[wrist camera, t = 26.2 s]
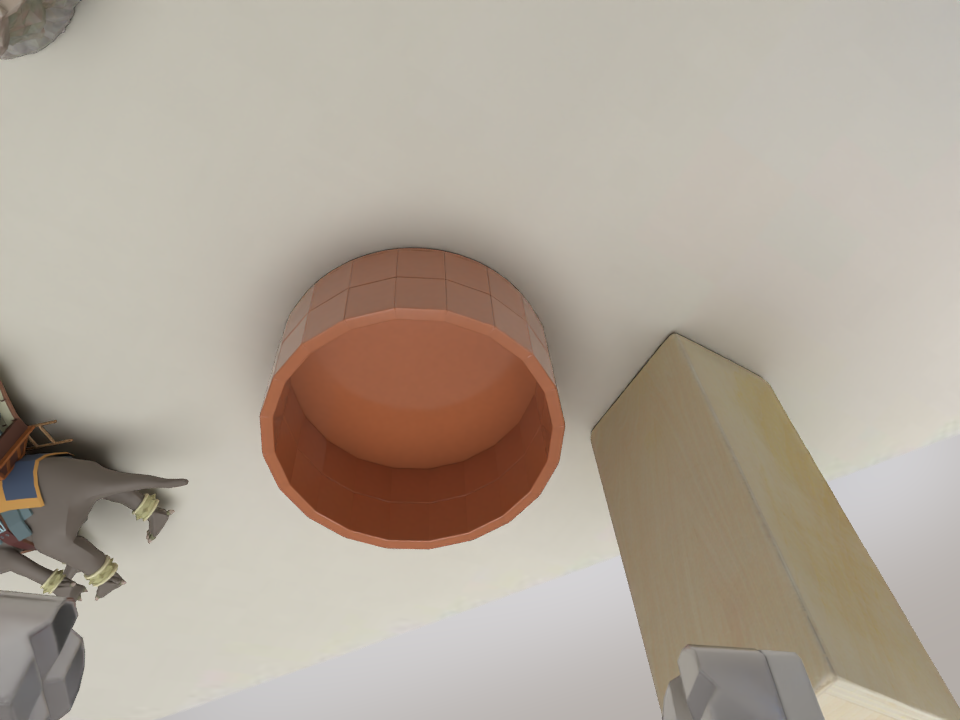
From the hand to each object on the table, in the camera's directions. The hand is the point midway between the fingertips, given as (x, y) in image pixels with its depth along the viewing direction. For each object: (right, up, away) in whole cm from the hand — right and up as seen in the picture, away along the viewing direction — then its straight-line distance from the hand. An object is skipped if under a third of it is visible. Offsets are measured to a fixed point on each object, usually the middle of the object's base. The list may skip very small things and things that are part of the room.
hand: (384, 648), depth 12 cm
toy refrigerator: (+12, +1, +36) cm, 38 cm away
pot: (-2, +3, +33) cm, 34 cm away
